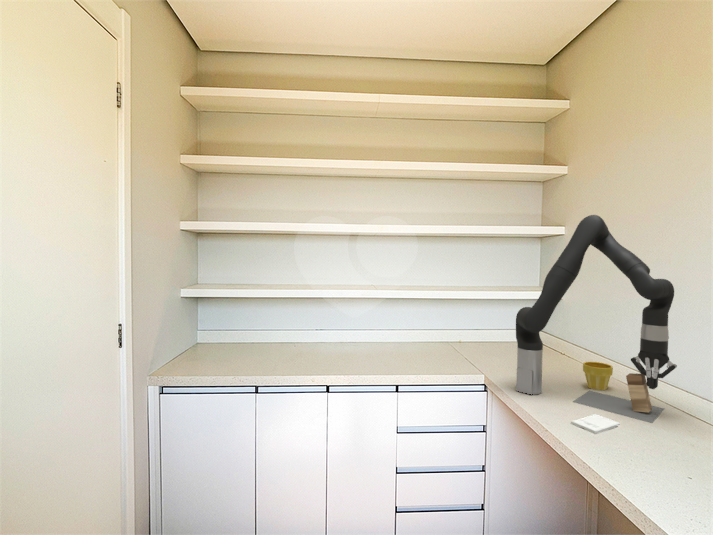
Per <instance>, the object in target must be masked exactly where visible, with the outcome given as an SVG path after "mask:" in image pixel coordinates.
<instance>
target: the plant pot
mask: <svg viewBox="0 0 713 535" xmlns="http://www.w3.org/2000/svg"><path fill="white" fill-rule="evenodd" d="M613 368H614V367H613V366H612V365H611V364H608V363H604V362H600V361H585V362H583V363H582V371H583V373H584V375H585V378H586V385H587V388H589V389H593V390H597V391H598V390H599V391H605V390H608V386H609V382H610V380H611V376H613V372H614V371H613V370H614V369H613Z"/></svg>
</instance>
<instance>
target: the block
mask: <svg viewBox="0 0 713 535" xmlns="http://www.w3.org/2000/svg"><path fill="white" fill-rule="evenodd" d="M625 378H626V383H627V388H628V392H629V398H630V400H631V403H632V408H633V411H637V412H650V411H651V410H652V406H653V405H652V401H651V397H650V392H649V387H648V386H647V377H646V376H645V375H643V374H641V373H634V372H632V373H628V374H627V375H625ZM651 405H652V406H651Z"/></svg>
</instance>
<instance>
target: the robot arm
mask: <svg viewBox="0 0 713 535" xmlns="http://www.w3.org/2000/svg"><path fill="white" fill-rule="evenodd" d="M590 246H592V247H594V248H595V249H597V251H599V252H600V253H602V254H603V255H605V256H606V257H607V259H609V260H610V261H611V262H612V263H613V264H614V266H615V267H616V268H617V269H618V270H619V271H620V272H622V274H623V275H624V276H625V277H626V278H628V279H629V280H630V283H631V285H632V286H633V288H634V290H636V292H637V293H638V295H640V296H641V297H642V298H643V299H645V300H648V301H649V300H650V301H649V305H647V306H645V307H644V308H643V309H642V316H641V327H640V340H639V341H640V342H639V353H637V356H633V357H632V358H630V361H631V363H632V364H633V365H634V367H635V368H636V370H637V371H638V372H639V374H643V375H645V378H646V383H647V387H648V389H650V390H656V388H658V387H659V386H658V385H659V379H664V378H665V377H666V376H668V375H669V374H670V373H671V372H673V371H674V370H675V369H676V368H677V367H678V365H677V364H675V363H673V362H672V361H670V357H669V339H670V337H669V313H670V310H671V308H672V304H673V301H674V297H675V288H674V287H675V286H674V284H673V283H672V282H671V281H669V280H668V279H665V278H653V277H652V276H651V275H650V273H651V268H650V267H649V266H648V265H647V264H646V263H645V262H644V261H643V260H642V259H641V258H639V257H638V256H637V255H636V254H635V253H633V252H632V251H630V250H629V249H627V248H625V247H624V246H623V245H621V244H620V243H619V242H618V241H617V239H616V238H615V237H614V236H613V234H612V233H611V232H610V230H609V228H608V225H607V224H606V222H605V220H604V219H603V218H602V217H601V216H599V215H597V214H591V215H587V216H586V217H584V218H583V219H581V220H580V221H579V223H578V225H577V226H576V228H575V230H574V232H573V234H572V236H571V238H570V240H569V241H568V243H567V245H566V246H565V248H564V249H563V250H562V252H561V254H560V255H559V257H558V258H557V260H556V261H555V263H554V264H553V266H552V267H551V268H550V269H549V271H548V273H547V274H546V277H545V279H544V282H543V286H542V290H541V292H540V295H539V297H538V298H537V299H536V301H535V303H534V304H533V305H532V306H525V307H522V308H520V309H519V310H518V311H517V313H516V316H515V339H516V342H517V346H516V347H517V348H516V349H517V350H516V351H517V352H516V353H517V356H516V378H515V379H516V381H515V382H516V386H515V390H516V392H518V391H519V392H518V393H522V392H523V394H525V393H527V394H526V395H529V394H531V395H530V396H533V395H540V394H542V393H541V392H542V390H543V388H542V387H543V355H544V354H543V351H544V344H543V341H542V339H541V337H540V336H541V335H540V332H542V331H543V330H544V329H545V328H546V326H547V325H548V322H549V321H550V319H551V317H552V315H553V314H554V311H555V309H556V308H557V306H558V305H559V303H560V302H561V300H562V299H563V297H564V296H565V295H566V293H567V291H568V290H569V288H570V287H571V286H572V285H573V283H574V282H575V280H576V278H577V277H578V276H579V273H580V271H581V268H582V265H583V261H584V258H585V255H586V252H587V251H588V249H589V247H590ZM641 362H642V364H641ZM665 365H666V369H665V370H664V371H663V372H661V373H660V371H661V368H663V367H664V366H665ZM644 366H645V367H644ZM532 394H533V395H532Z"/></svg>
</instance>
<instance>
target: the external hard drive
mask: <svg viewBox="0 0 713 535" xmlns="http://www.w3.org/2000/svg"><path fill="white" fill-rule="evenodd" d="M570 424H571V425H572V426H576V427H578V428H581V429H583V430H585V431H587V432H590V433H592V434H594V435H597V434H600V433H604V432H607V431H610V430H612V429H615V428H619V425H620V422H618V421H617V420H613V419H611V418H608V417H605V416H602V415H599V414H594V413H593V414H590V415H588V416H585V417H581V418H578V419H574V420H571V421H570Z"/></svg>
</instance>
